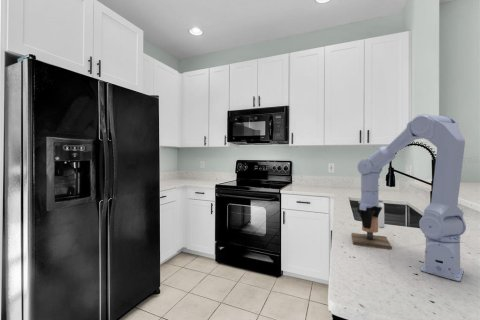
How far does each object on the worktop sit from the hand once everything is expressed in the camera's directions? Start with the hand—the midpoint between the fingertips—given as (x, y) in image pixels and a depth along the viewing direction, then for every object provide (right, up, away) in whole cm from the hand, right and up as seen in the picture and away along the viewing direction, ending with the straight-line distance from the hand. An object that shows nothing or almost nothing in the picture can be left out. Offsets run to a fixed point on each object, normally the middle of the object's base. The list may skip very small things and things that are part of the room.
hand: (369, 226), depth 87 cm
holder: (0, -6, 0) cm, 6 cm away
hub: (0, -2, 0) cm, 2 cm away
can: (+15, -6, +22) cm, 27 cm away
